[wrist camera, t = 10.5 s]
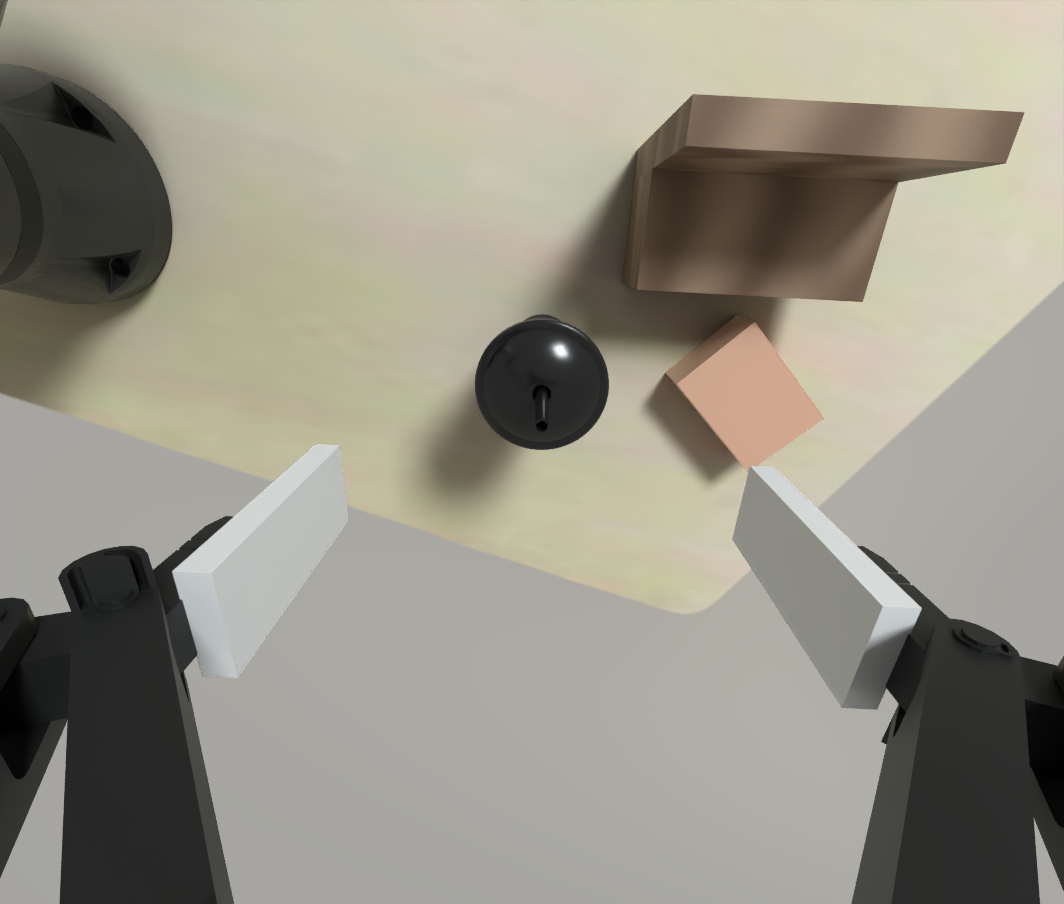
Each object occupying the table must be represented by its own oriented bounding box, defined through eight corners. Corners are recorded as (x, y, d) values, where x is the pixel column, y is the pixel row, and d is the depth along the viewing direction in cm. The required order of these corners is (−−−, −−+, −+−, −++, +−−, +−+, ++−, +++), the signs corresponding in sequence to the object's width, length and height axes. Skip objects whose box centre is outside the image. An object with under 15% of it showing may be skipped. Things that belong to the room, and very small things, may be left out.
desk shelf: (622, 282, 39) (662, 301, 26) (637, 149, 35) (693, 94, 22) (812, 293, 39) (948, 317, 26) (847, 161, 35) (1024, 112, 22)
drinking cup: (555, 275, 38) (568, 304, 20) (605, 356, 41) (657, 448, 22) (476, 330, 40) (422, 403, 22) (529, 405, 43) (519, 528, 24)
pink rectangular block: (730, 453, 44) (747, 471, 41) (664, 371, 42) (676, 384, 38) (799, 403, 42) (824, 418, 39) (735, 314, 40) (755, 321, 36)
